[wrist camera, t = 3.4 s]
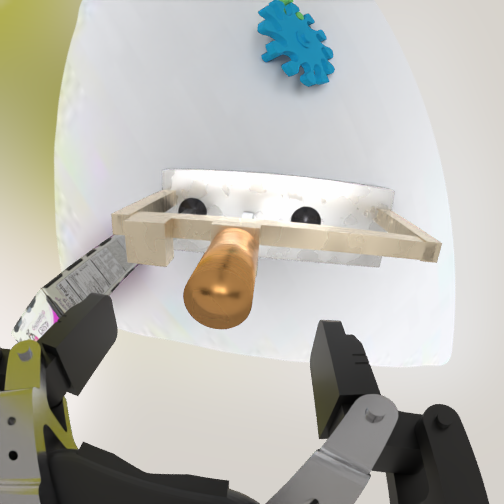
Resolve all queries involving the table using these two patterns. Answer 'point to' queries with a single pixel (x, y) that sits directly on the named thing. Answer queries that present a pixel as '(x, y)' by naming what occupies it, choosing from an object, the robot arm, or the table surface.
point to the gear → (295, 42)
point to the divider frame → (271, 219)
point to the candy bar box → (75, 287)
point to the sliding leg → (225, 275)
